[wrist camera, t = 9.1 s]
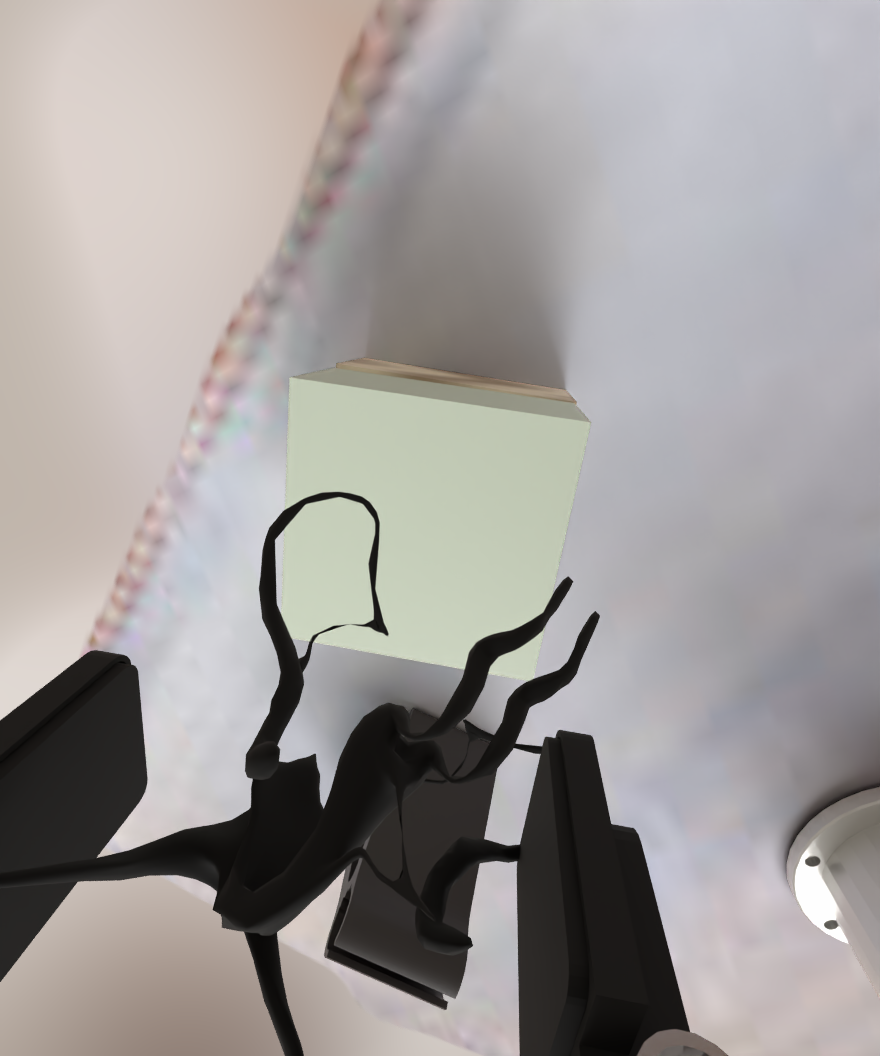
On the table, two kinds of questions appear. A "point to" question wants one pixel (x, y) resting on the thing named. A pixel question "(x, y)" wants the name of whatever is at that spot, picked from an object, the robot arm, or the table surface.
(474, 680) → the creature
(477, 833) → the phone stand
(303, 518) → the tower top
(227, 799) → the table surface
